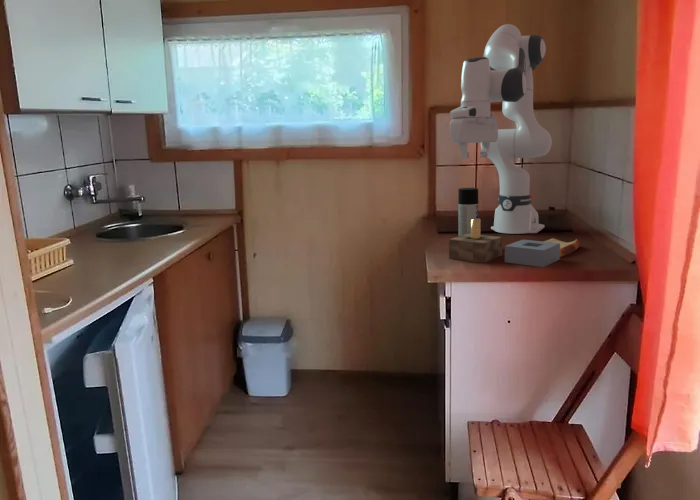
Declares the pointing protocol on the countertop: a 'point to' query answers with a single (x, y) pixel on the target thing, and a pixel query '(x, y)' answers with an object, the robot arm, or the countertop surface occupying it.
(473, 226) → the brass pin
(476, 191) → the spray can
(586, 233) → the countertop surface
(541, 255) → the slate socket block
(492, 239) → the tan wooden mount
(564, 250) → the slice of bread
